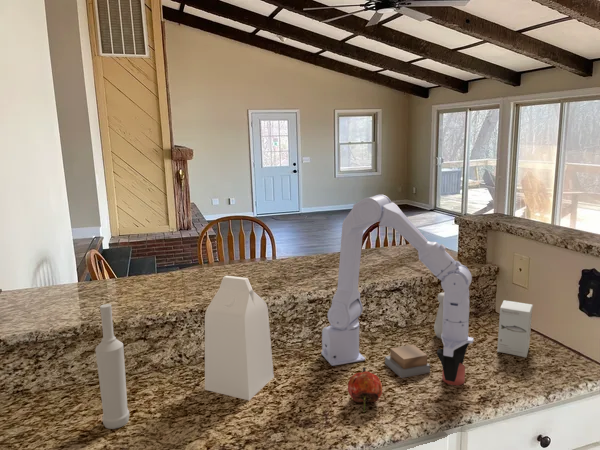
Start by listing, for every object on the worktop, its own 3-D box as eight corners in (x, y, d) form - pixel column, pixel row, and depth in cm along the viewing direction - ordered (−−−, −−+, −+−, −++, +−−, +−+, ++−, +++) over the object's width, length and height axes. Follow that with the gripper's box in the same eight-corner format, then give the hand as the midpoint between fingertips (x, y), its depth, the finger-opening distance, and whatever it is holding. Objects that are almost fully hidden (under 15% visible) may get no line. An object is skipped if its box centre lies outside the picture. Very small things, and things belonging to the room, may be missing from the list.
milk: (273, 376, 111) (270, 273, 107) (249, 400, 101) (244, 287, 97) (232, 367, 116) (227, 268, 112) (204, 389, 106) (198, 281, 102)
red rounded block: (450, 387, 105) (451, 372, 105) (437, 377, 110) (438, 363, 109) (469, 383, 107) (469, 369, 106) (455, 373, 111) (456, 359, 111)
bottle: (107, 415, 96) (96, 302, 92) (132, 413, 97) (123, 300, 93) (99, 430, 91) (87, 310, 87) (125, 428, 92) (115, 309, 88)
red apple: (383, 420, 96) (387, 376, 103) (377, 406, 92) (381, 360, 98) (349, 418, 99) (354, 374, 106) (341, 403, 94) (347, 359, 101)
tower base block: (401, 380, 110) (401, 370, 109) (384, 365, 117) (385, 356, 117) (429, 374, 112) (430, 365, 112) (412, 360, 120) (412, 351, 119)
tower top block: (403, 369, 110) (404, 359, 110) (390, 357, 116) (390, 348, 116) (427, 364, 112) (427, 355, 112) (412, 353, 118) (412, 344, 118)
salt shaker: (455, 341, 129) (457, 297, 127) (434, 340, 131) (435, 296, 128) (453, 333, 135) (454, 291, 133) (432, 332, 136) (434, 290, 134)
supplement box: (496, 352, 122) (498, 307, 120) (500, 342, 128) (503, 299, 126) (527, 358, 118) (530, 312, 116) (530, 347, 125) (533, 303, 122)
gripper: (468, 332, 98) (465, 391, 100) (479, 311, 110) (476, 364, 112) (434, 326, 101) (432, 383, 103) (449, 306, 113) (447, 358, 116)
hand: (453, 373), depth 108 cm, fingers open, 7 cm apart
